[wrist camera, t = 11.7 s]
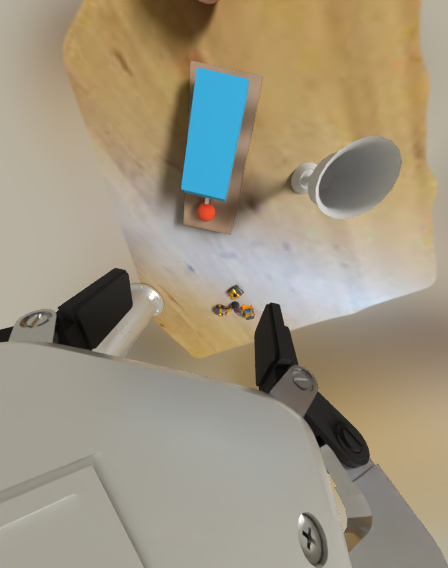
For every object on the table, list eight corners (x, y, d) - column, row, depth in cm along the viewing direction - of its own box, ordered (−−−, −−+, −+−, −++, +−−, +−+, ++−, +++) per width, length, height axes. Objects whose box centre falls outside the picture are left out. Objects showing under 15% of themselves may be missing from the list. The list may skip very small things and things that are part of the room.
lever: (206, 105, 29) (189, 218, 34) (196, 66, 22) (177, 214, 27) (246, 115, 29) (222, 225, 34) (249, 79, 22) (219, 224, 27)
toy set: (206, 292, 50) (202, 302, 46) (242, 282, 46) (242, 292, 42) (221, 321, 55) (219, 332, 51) (256, 313, 52) (256, 325, 48)
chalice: (323, 146, 29) (402, 116, 14) (329, 187, 32) (401, 198, 17) (280, 169, 32) (308, 164, 16) (290, 205, 34) (321, 229, 19)
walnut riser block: (232, 229, 38) (230, 234, 35) (189, 220, 39) (183, 224, 35) (261, 88, 26) (262, 75, 23) (198, 75, 26) (190, 60, 23)
